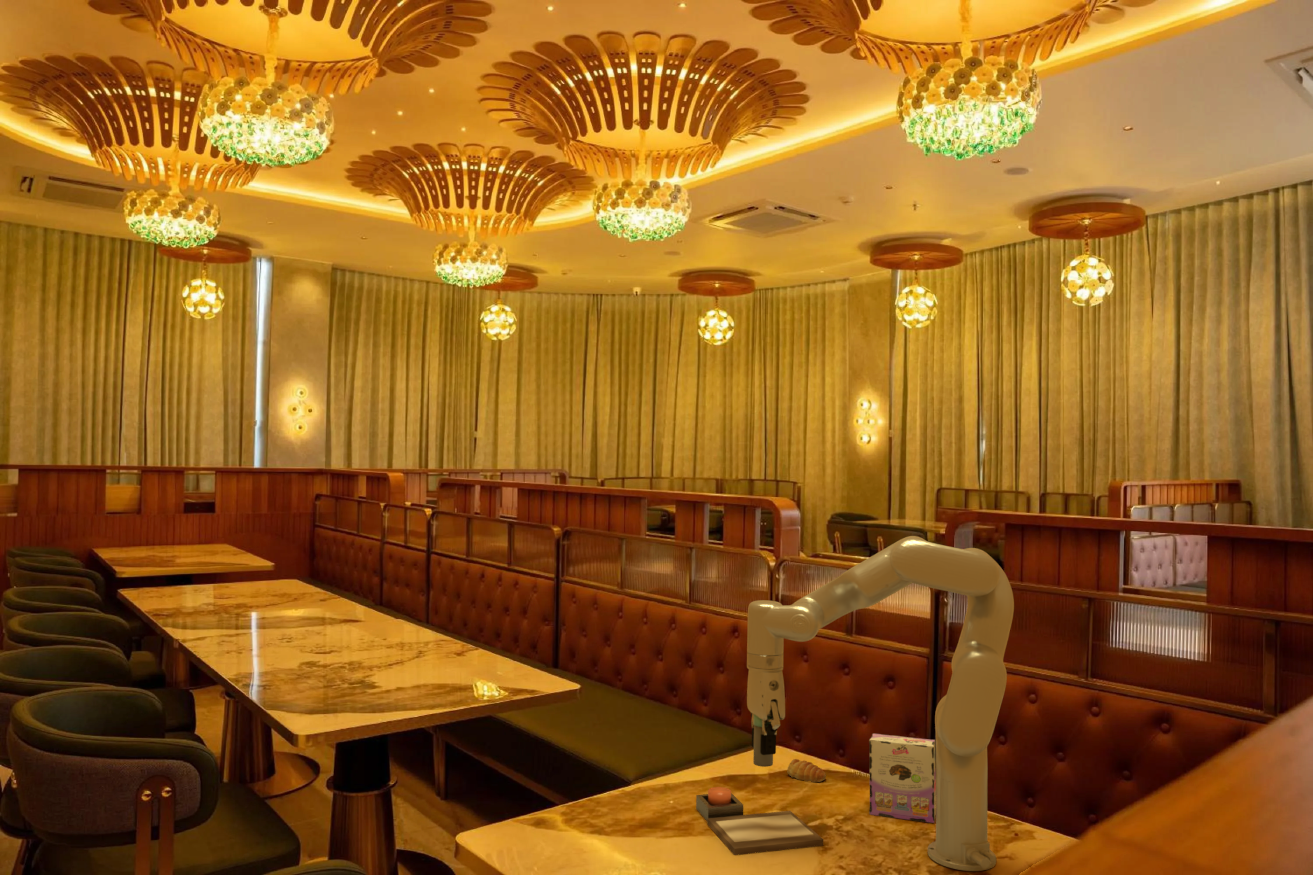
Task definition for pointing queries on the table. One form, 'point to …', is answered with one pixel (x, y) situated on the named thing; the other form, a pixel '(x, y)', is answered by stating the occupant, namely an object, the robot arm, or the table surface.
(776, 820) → the board
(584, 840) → the table surface
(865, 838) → the table surface
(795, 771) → the pastry
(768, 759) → the cylinder
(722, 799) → the button
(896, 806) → the candy box
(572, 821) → the table surface
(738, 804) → the button housing
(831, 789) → the table surface
